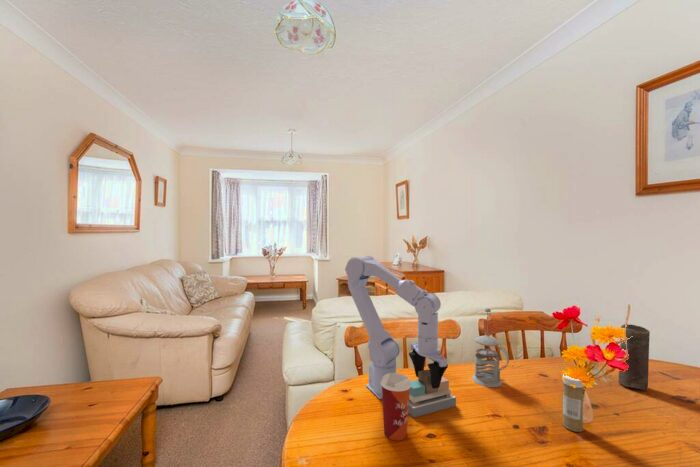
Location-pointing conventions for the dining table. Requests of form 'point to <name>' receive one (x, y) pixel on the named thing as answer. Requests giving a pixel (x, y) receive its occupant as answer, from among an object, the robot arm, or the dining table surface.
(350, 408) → the dining table surface
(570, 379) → the sprinkles bottle
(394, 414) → the paper cup
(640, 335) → the candle
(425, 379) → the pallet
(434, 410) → the dock
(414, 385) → the block
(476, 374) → the french press
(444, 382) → the block
